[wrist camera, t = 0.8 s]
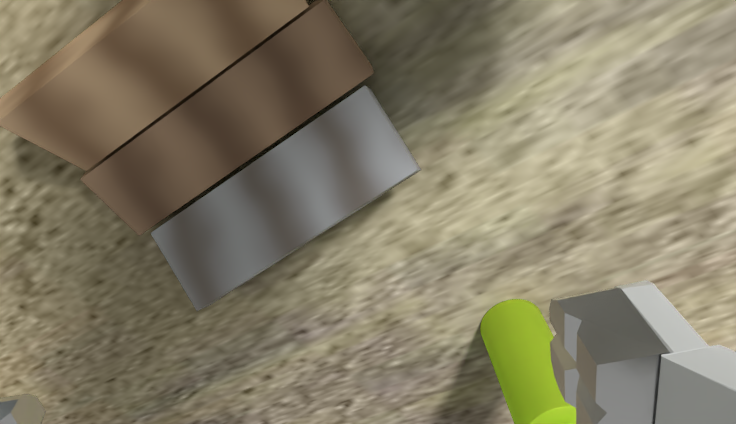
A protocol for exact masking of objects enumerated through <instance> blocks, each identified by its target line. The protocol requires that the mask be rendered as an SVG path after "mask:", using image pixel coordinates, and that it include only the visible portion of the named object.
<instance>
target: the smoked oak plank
mask: <svg viewBox="0 0 736 424" xmlns="http://www.w3.org/2000/svg"><path fill="white" fill-rule="evenodd" d="M308 7H309V5H308V3H307V1H306V0H122V1H121V2H119V3H118V4H117V5H116V6H115V7H113V8H112V9H111V10H110V11H108V12H107V13H106V14H105V15H103V16H102V17H101V18H100V19H98V20H97V21H96V22H95V23H93V24H92V25H91V26H90V27H88V28H87V29H86V30H85V31H83V32H82V33H81V34H80V35H78V36H77V37H76V38H75V39H73V40H72V41H71V42H70V43H68V44H67V45H66V46H65V47H63V48H62V49H61V50H60V51H58V52H57V53H56V54H55V55H53V56H52V57H51V58H50V59H49V60H47V61H46V62H45V63H44V64H42V65H41V66H40V67H39V68H37V69H36V70H35V71H34V72H32V73H31V74H30V75H29V76H27V77H26V78H25V79H24V80H22V81H21V82H20V83H19V84H17V85H16V86H15V87H14V88H12V89H11V90H10V91H9V92H7V93H6V94H5V95H4V96H2V97H1V98H0V126H1V127H3V128H5V129H7V130H9V131H11V132H13V133H15V134H16V135H18V136H20V137H22V138H24V139H26V140H28V141H30V142H32V143H34V144H36V145H38V146H39V147H41V148H43V149H45V150H47V151H49V152H51V153H53V154H55V155H57V156H59V157H61V158H62V159H64V160H66V161H68V162H70V163H72V164H74V165H76V166H78V167H80V168H82V169H83V170H85V171H87V170H88V169H90V168H91V167H92V166H94V165H95V164H96V163H98V162H99V161H100V160H102V159H103V158H104V157H106V156H107V155H108V154H110V153H111V152H113V151H114V150H115V149H117V148H118V147H119V146H121V145H122V144H123V143H125V142H126V141H127V140H129V139H130V138H132V137H133V136H134V135H136V134H137V133H138V132H140V131H141V130H142V129H144V128H145V127H146V126H148V125H149V124H150V123H152V122H153V121H155V120H156V119H157V118H159V117H160V116H161V115H163V114H164V113H165V112H167V111H168V110H169V109H171V108H172V107H174V106H175V105H176V104H178V103H179V102H180V101H182V100H183V99H184V98H186V97H187V96H188V95H190V94H191V93H192V92H194V91H195V90H197V89H198V88H199V87H201V86H202V85H203V84H205V83H206V82H207V81H209V80H210V79H211V78H213V77H214V76H216V75H217V74H218V73H220V72H221V71H222V70H224V69H225V68H226V67H228V66H229V65H230V64H232V63H233V62H235V61H236V60H237V59H239V58H240V57H241V56H243V55H244V54H245V53H247V52H248V51H249V50H251V49H252V48H253V47H255V46H256V45H258V44H259V43H260V42H262V41H263V40H264V39H266V38H267V37H268V36H270V35H271V34H272V33H274V32H275V31H277V30H278V29H279V28H281V27H282V26H283V25H285V24H286V23H287V22H289V21H290V20H291V19H293V18H294V17H295V16H297V15H298V14H300V13H301V12H302V11H304V10H305V9H306V8H308Z"/></svg>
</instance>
